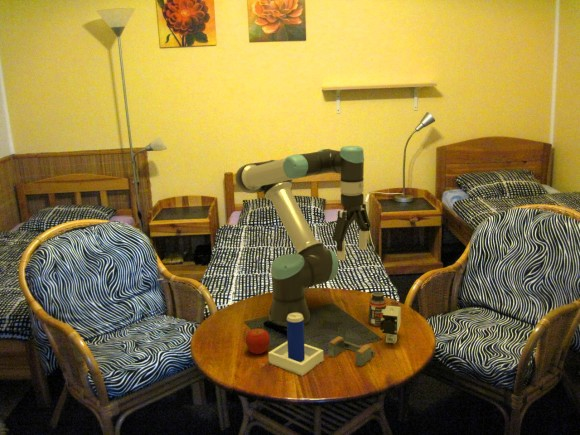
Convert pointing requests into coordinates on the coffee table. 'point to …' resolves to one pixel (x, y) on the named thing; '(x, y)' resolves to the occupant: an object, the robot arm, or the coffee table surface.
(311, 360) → the tray
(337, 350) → the fuse holder
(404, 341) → the coffee table surface
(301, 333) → the beverage can
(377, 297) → the supplement bottle
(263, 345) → the apple
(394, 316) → the pneumatic valve
